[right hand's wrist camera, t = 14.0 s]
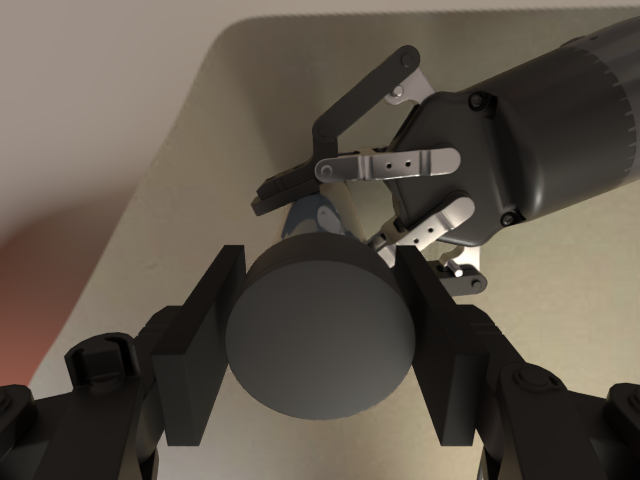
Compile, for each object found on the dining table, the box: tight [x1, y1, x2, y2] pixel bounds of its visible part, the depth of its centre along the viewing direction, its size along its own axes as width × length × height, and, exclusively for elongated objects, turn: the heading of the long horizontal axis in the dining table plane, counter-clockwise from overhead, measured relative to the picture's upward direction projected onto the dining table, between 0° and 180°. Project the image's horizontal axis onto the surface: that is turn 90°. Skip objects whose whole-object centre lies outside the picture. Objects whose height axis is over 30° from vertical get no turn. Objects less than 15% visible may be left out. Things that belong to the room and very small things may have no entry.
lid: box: [224, 232, 416, 420], centre depth 11 cm, size 5×5×2 cm
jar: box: [272, 181, 368, 246], centre depth 18 cm, size 4×4×16 cm
